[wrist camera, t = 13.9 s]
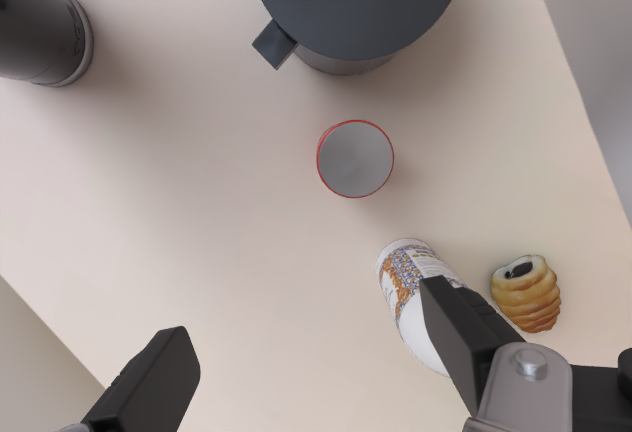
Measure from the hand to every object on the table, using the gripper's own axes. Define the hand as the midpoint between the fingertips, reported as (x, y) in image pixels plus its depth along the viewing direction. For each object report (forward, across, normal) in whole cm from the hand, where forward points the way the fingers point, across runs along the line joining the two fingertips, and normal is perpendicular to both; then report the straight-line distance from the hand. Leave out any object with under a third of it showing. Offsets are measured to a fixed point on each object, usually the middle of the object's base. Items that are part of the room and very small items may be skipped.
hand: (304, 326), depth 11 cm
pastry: (+25, -22, +17) cm, 37 cm away
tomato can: (+25, -4, -3) cm, 26 cm away
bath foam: (+25, -9, +11) cm, 29 cm away
